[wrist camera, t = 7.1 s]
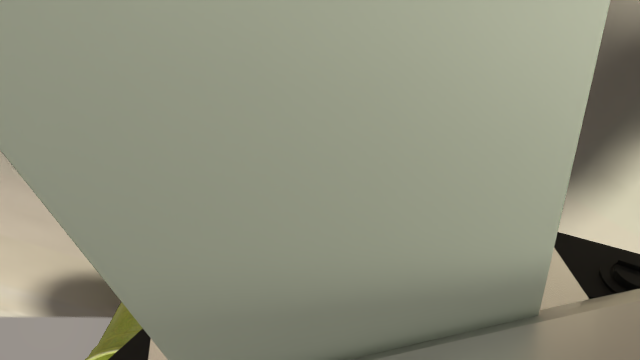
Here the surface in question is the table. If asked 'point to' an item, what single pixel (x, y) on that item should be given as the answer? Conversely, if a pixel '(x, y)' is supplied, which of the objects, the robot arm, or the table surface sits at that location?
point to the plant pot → (116, 334)
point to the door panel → (303, 160)
